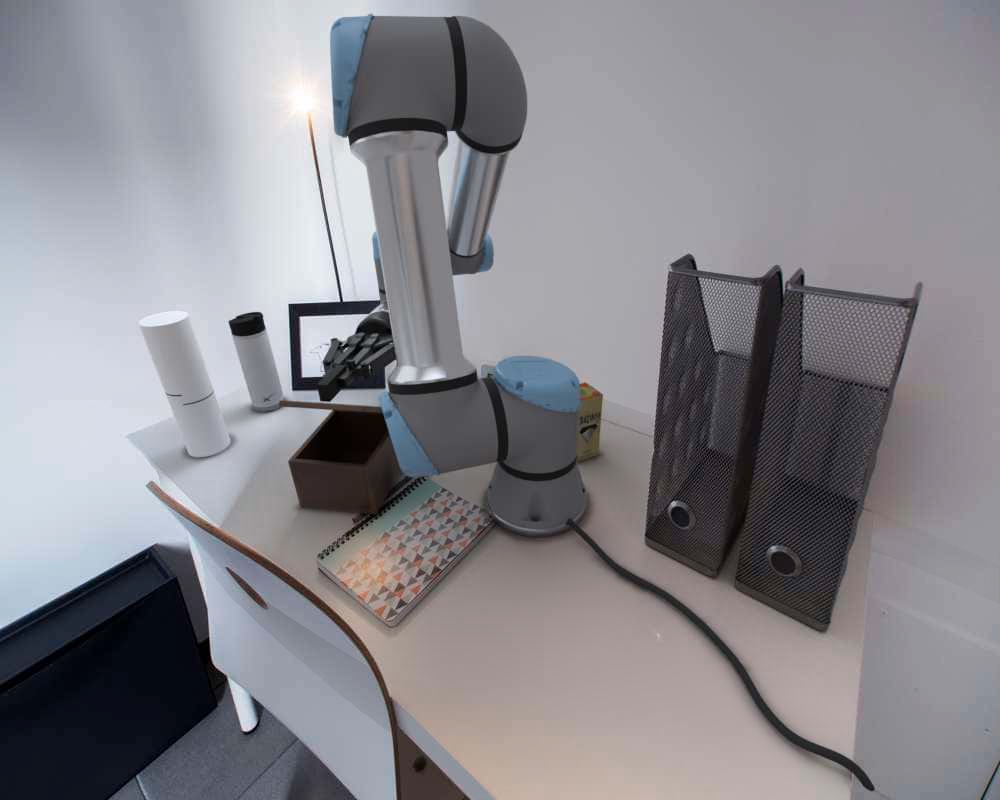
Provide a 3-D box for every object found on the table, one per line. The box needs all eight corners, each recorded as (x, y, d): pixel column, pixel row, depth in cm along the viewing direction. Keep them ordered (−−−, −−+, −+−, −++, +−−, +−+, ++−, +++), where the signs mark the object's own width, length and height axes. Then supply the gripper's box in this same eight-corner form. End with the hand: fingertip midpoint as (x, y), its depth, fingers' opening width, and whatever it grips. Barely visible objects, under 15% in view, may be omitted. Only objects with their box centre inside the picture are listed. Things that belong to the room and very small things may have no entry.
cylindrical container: (201, 435, 101) (155, 311, 89) (237, 435, 101) (196, 310, 89) (180, 457, 95) (128, 326, 83) (218, 457, 95) (172, 326, 82)
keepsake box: (376, 514, 80) (368, 468, 76) (300, 507, 82) (287, 461, 78) (409, 455, 94) (403, 412, 89) (342, 450, 96) (334, 408, 91)
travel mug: (276, 413, 108) (250, 321, 98) (247, 411, 109) (219, 319, 99) (292, 398, 113) (269, 309, 103) (264, 396, 114) (239, 308, 105)
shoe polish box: (598, 454, 92) (602, 394, 86) (574, 462, 90) (577, 401, 85) (582, 440, 96) (585, 382, 90) (559, 448, 94) (561, 389, 88)
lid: (362, 412, 73) (362, 405, 73) (278, 406, 75) (278, 400, 75) (403, 413, 89) (403, 408, 89) (333, 408, 91) (333, 403, 91)
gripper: (420, 351, 96) (370, 419, 75) (352, 348, 98) (286, 413, 77) (416, 312, 92) (362, 371, 72) (345, 309, 94) (274, 367, 74)
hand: (323, 393), depth 75 cm, fingers closed
